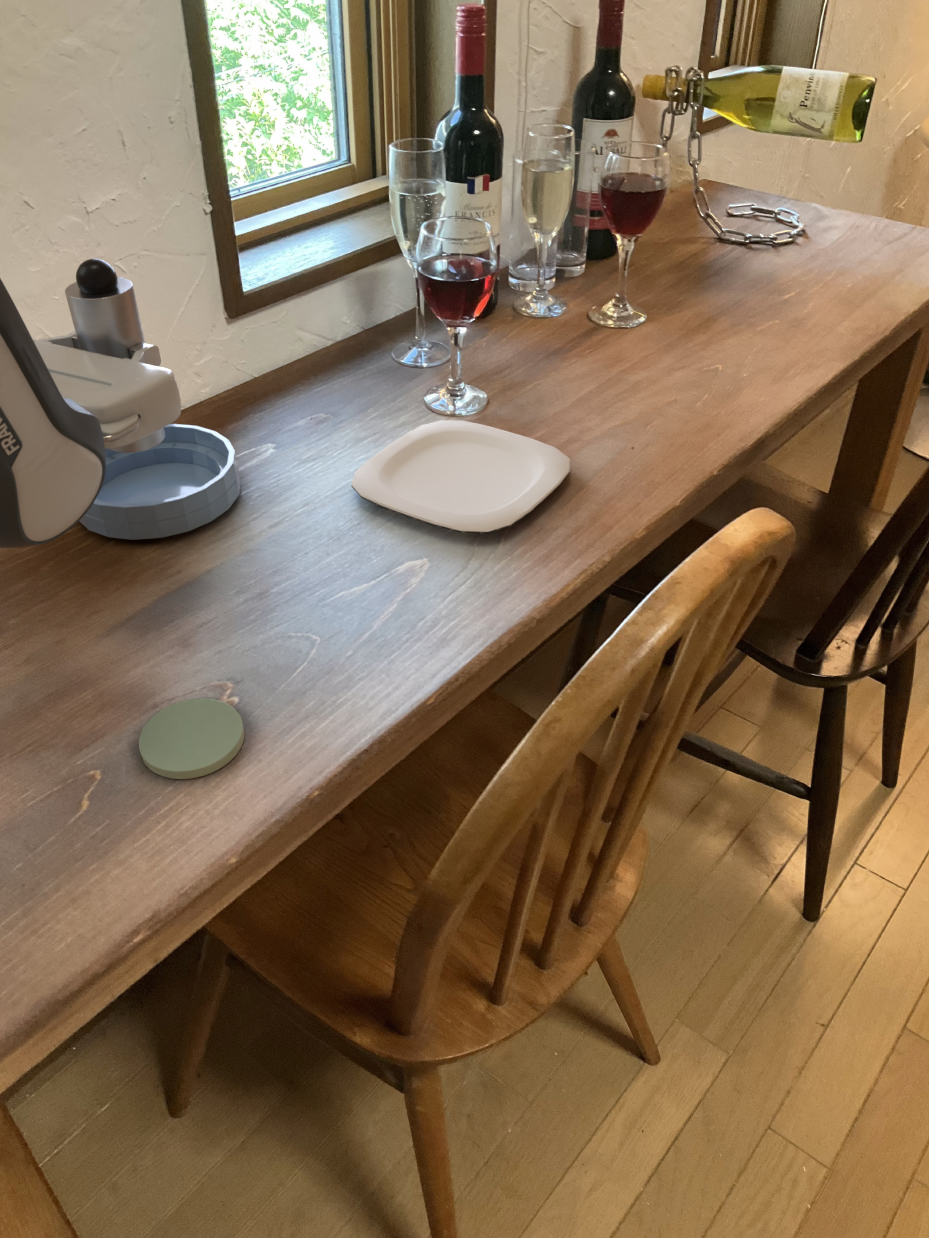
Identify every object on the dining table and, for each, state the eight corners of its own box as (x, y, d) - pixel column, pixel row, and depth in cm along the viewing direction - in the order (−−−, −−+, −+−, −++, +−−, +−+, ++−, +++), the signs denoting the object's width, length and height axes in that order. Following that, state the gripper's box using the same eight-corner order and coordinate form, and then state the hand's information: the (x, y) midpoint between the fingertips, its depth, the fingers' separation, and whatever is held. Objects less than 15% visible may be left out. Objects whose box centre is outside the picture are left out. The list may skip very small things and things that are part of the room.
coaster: (151, 793, 63) (148, 784, 62) (132, 724, 68) (130, 716, 67) (256, 759, 65) (254, 751, 64) (230, 694, 70) (228, 686, 69)
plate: (437, 424, 102) (437, 409, 101) (589, 469, 94) (590, 453, 93) (329, 500, 90) (328, 484, 89) (493, 559, 83) (493, 542, 82)
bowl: (88, 561, 83) (76, 523, 81) (66, 480, 94) (55, 444, 91) (259, 520, 88) (253, 482, 86) (220, 447, 99) (213, 412, 96)
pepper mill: (110, 458, 79) (61, 274, 70) (100, 432, 83) (53, 254, 74) (170, 445, 81) (131, 264, 72) (159, 420, 85) (120, 245, 75)
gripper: (93, 404, 63) (220, 329, 72) (-128, 351, 69) (16, 289, 79) (115, 487, 67) (233, 405, 76) (-96, 430, 73) (37, 361, 83)
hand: (121, 346), depth 78 cm, fingers closed on pepper mill, 5 cm apart
